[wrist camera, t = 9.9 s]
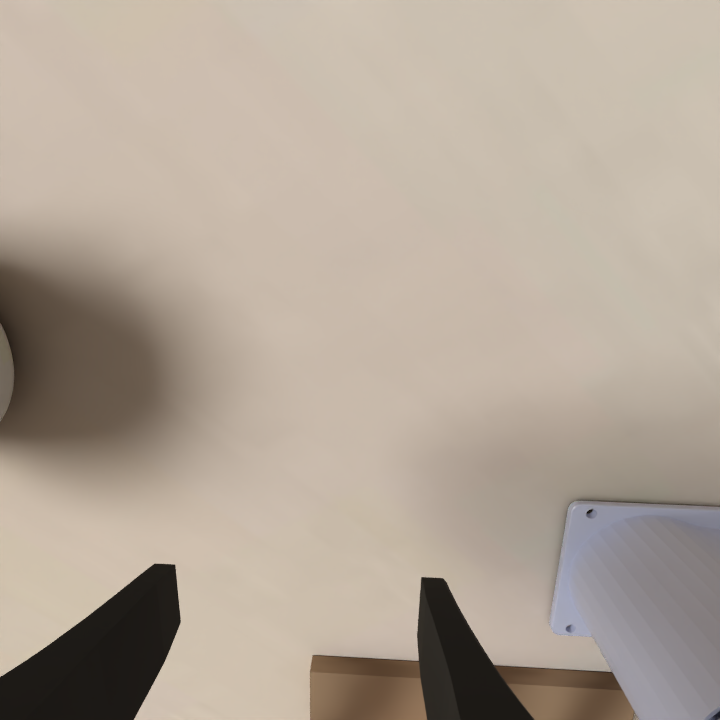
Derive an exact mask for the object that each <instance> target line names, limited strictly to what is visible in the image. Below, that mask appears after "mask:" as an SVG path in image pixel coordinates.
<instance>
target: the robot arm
mask: <svg viewBox="0 0 720 720" xmlns="http://www.w3.org/2000/svg"><path fill="white" fill-rule="evenodd" d="M591 509H593V511H592V512H591V513H589V514H586V513H587V511H589V510H591ZM180 622H181V620H180V610H179V600H178V589H177V579H176V569H175V565H171V564H154V565H152V566H151V567H150V568H148V569H147V570H146V571H145V572H143V573H142V574H141V575H139V576H138V577H137V578H136V579H134V580H133V581H132V582H131V583H130V584H128V585H127V586H126V587H125V588H123V589H122V590H121V591H120V592H118V593H117V594H116V595H115V596H113V597H112V598H111V599H109V600H108V601H107V602H106V603H104V604H103V605H102V606H101V607H99V608H98V609H97V610H95V611H94V612H93V613H92V614H90V615H89V616H88V617H86V618H85V619H84V620H82V621H81V622H80V623H78V624H77V625H76V626H74V627H73V628H71V629H70V630H69V631H67V632H66V633H65V634H63V635H62V636H61V637H59V638H58V639H56V640H55V641H54V642H52V643H51V644H50V645H48V646H47V647H45V648H44V649H42V650H41V651H40V652H38V653H37V654H35V655H34V656H32V657H31V658H29V659H28V660H26V661H25V662H23V663H22V664H20V665H19V666H17V667H15V668H14V669H12V670H11V671H9V672H8V673H6V674H4V675H3V676H1V677H0V720H134V718H135V716H136V714H137V713H138V711H139V709H140V707H141V705H142V703H143V701H144V700H145V698H146V696H147V694H148V692H149V690H150V688H151V686H152V685H153V683H154V681H155V679H156V677H157V675H158V673H159V671H160V669H161V668H162V666H163V664H164V662H165V660H166V657H167V655H168V652H169V650H170V648H171V645H172V643H173V640H174V638H175V635H176V633H177V630H178V627H179V625H180ZM549 625H550V627H551V629H552V631H553V633H555V634H557V635H568V636H587V637H593V639H594V640H595V642H596V644H597V646H598V647H599V649H600V651H601V653H602V655H603V656H604V658H605V660H606V662H607V663H608V665H609V667H610V669H611V671H612V672H613V674H614V676H615V678H616V680H617V681H618V683H619V685H620V687H621V688H622V690H623V692H624V694H625V696H626V697H627V699H628V701H629V703H630V704H631V706H632V708H633V710H634V712H635V713H636V715H637V717H638V719H639V720H720V507H713V506H690V505H668V504H645V503H623V502H600V501H575V502H573V503H571V504H570V506H569V508H568V512H567V518H566V524H565V530H564V536H563V543H562V549H561V555H560V561H559V567H558V573H557V579H556V585H555V591H554V597H553V603H552V609H551V615H550V621H549ZM568 625H570V626H568ZM417 638H418V653H419V667H420V678H421V685H422V691H423V697H424V703H425V710H426V716H427V720H535V719H534V718H533V717H532V716H531V715H530V713H529V712H528V711H527V710H526V708H525V707H524V706H523V704H522V703H521V702H520V701H519V699H518V698H517V697H516V695H515V694H514V693H513V691H512V690H511V689H510V687H509V686H508V685H507V683H506V682H505V680H504V679H503V678H502V676H501V675H500V673H499V672H498V670H497V669H496V667H495V666H494V665H493V663H492V662H491V660H490V659H489V657H488V656H487V654H486V652H485V651H484V649H483V648H482V646H481V645H480V643H479V641H478V640H477V638H476V636H475V635H474V633H473V632H472V630H471V628H470V627H469V625H468V623H467V621H466V620H465V618H464V616H463V614H462V612H461V611H460V609H459V607H458V605H457V603H456V601H455V599H454V597H453V595H452V593H451V591H450V589H449V587H448V585H447V582H446V581H445V580H444V579H443V578H426V577H421V591H420V605H419V619H418V632H417Z"/></svg>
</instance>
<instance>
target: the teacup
mask: <svg viewBox="0 0 720 720" xmlns="http://www.w3.org/2000/svg"><path fill="white" fill-rule="evenodd" d="M13 386H14V365H13V358H12V353H11V349H10V345H9V342H8V339H7V336H6V334H5V331H4V329H3V327H2V325H1V323H0V421H1V420H2V418H3V416H4V415H5V413H6V411H7V409H8V406H9V403H10V401H11V396H12V392H13Z"/></svg>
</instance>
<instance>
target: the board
mask: <svg viewBox="0 0 720 720" xmlns="http://www.w3.org/2000/svg"><path fill="white" fill-rule="evenodd" d="M495 667H496V669H497V670H498V672H499V673H500V675H501V676H502V678H503V679H504V680H505V682H506V683H507V685H508V686H509V687H510V689H511V690H512V691H513V693H514V694H515V695H516V697H517V698H518V699H519V701H520V702H521V703H522V704H523V706H524V707H525V708H526V710H527V711H528V712H529V713H530V715H531V716H532V717H533V718H534V719H535V720H632V719H633V715H634V710H633V708H632V706H631V704H630V703H629V701H628V699H627V697H626V696H625V694H624V692H623V690H622V688H621V687H620V685H619V683H618V681H617V680H616V678H615V676H614V674H613V673H608V672H591V671H574V670H556V669H539V668H521V667H504V666H495ZM310 720H427V716H426V710H425V703H424V697H423V691H422V685H421V678H420V667H419V662H417V661H400V660H382V659H365V658H348V657H330V656H313V657H312V663H311V669H310Z"/></svg>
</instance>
